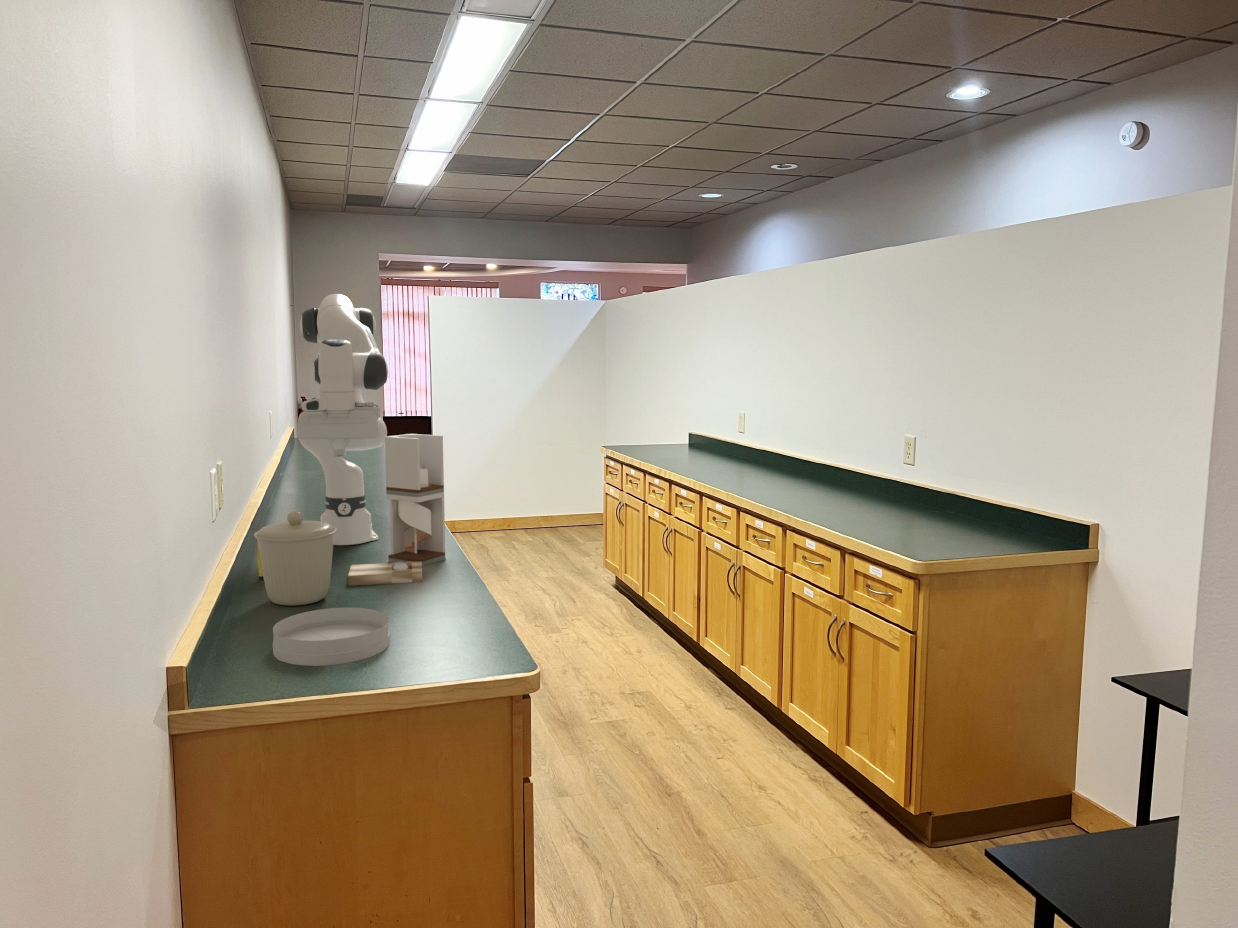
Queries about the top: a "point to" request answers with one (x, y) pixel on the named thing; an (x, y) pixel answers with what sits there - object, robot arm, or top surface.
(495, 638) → the top surface
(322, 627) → the dish
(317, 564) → the canister
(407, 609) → the top surface
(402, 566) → the steel ball
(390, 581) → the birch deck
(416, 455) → the display case
